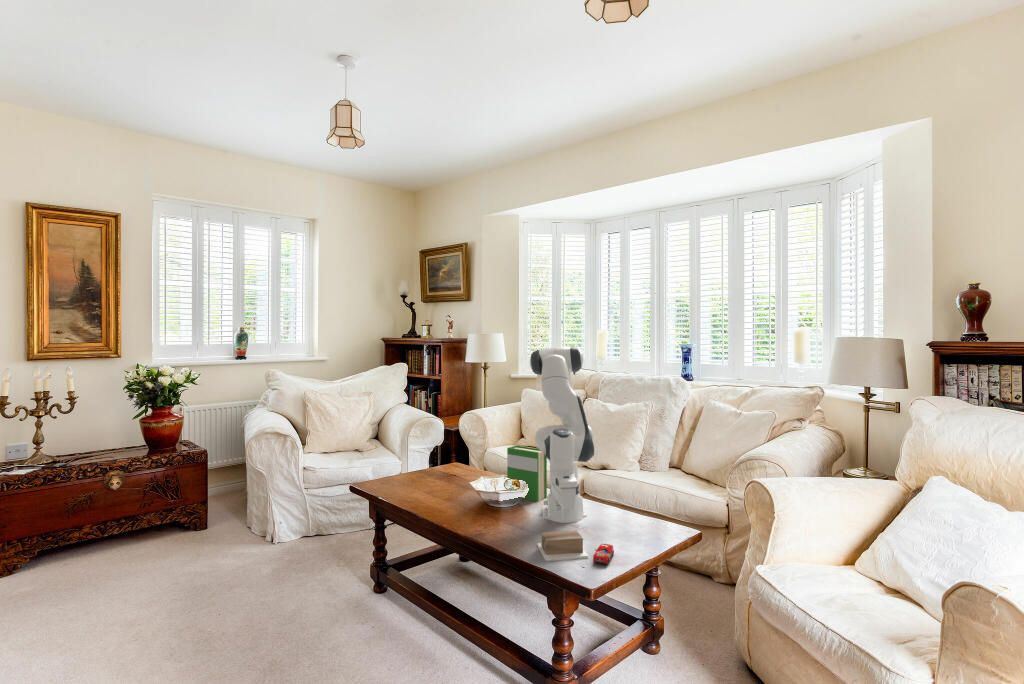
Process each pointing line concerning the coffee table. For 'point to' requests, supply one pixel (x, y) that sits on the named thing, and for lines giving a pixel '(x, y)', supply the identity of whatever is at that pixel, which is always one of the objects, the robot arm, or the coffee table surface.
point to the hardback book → (528, 470)
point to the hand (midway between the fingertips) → (561, 514)
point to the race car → (603, 553)
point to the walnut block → (561, 542)
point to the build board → (562, 555)
